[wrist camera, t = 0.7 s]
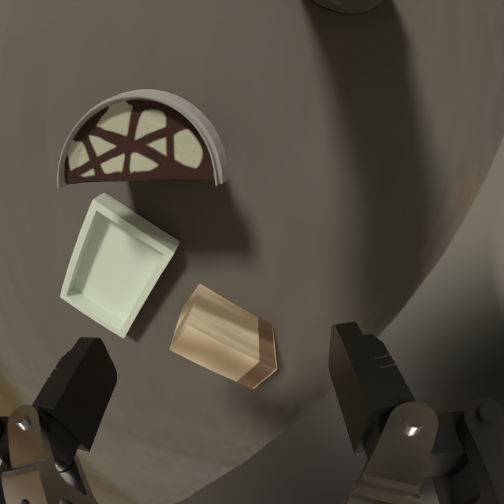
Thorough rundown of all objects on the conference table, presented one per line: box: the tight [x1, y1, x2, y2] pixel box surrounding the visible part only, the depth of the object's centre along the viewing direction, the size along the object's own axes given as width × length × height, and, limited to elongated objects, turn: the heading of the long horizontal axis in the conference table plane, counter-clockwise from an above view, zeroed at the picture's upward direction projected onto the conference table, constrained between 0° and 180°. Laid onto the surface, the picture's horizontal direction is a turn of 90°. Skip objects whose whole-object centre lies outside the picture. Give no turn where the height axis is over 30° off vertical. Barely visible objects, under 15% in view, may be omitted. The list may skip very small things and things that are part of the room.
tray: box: [60, 192, 180, 338], centre depth 29 cm, size 14×10×2 cm
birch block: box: [170, 284, 277, 389], centre depth 30 cm, size 4×10×7 cm, turn 54°
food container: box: [57, 89, 229, 189], centre depth 19 cm, size 12×6×10 cm, turn 87°
